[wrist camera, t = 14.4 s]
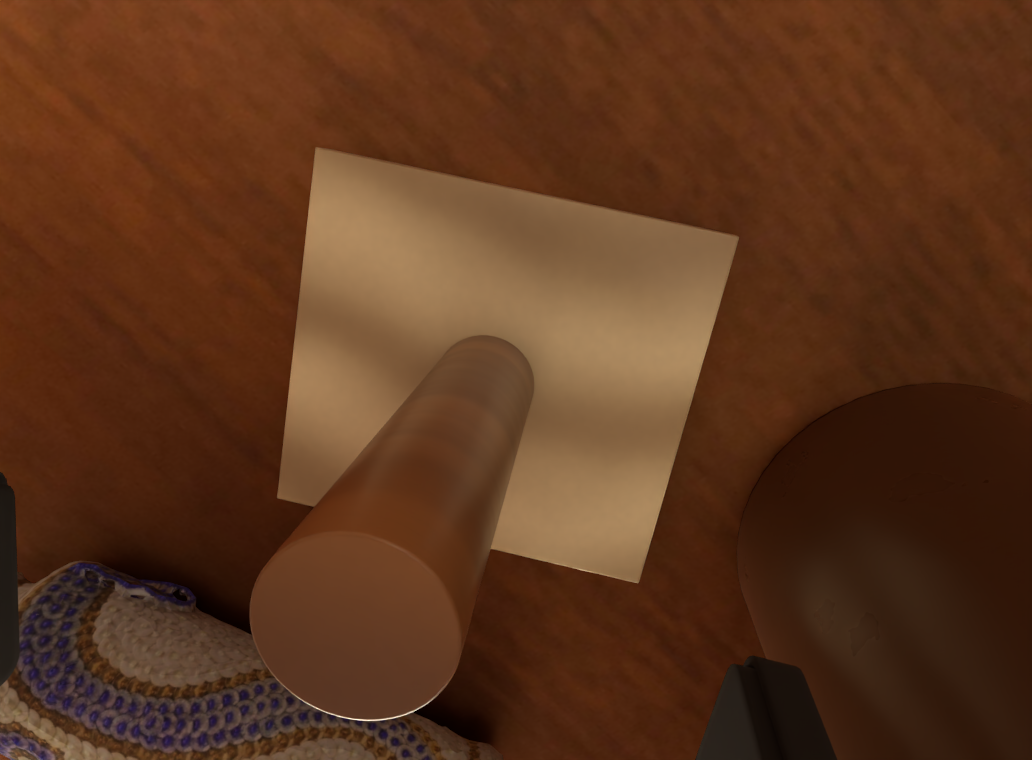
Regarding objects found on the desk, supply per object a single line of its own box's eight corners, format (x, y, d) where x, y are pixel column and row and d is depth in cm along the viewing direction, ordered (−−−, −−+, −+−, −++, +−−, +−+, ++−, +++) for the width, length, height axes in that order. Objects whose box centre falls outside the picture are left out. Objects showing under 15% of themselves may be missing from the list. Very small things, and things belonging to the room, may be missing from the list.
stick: (445, 325, 22) (258, 509, 10) (543, 346, 22) (480, 562, 10) (429, 417, 23) (239, 693, 11) (523, 439, 23) (442, 744, 10)
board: (329, 148, 22) (315, 147, 21) (731, 233, 22) (739, 236, 20) (290, 484, 26) (276, 498, 25) (636, 565, 25) (638, 584, 24)
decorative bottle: (526, 710, 27) (506, 872, 21) (449, 836, 30) (408, 1017, 23) (-79, 417, 26) (-292, 494, 20) (-112, 569, 29) (-313, 682, 22)
